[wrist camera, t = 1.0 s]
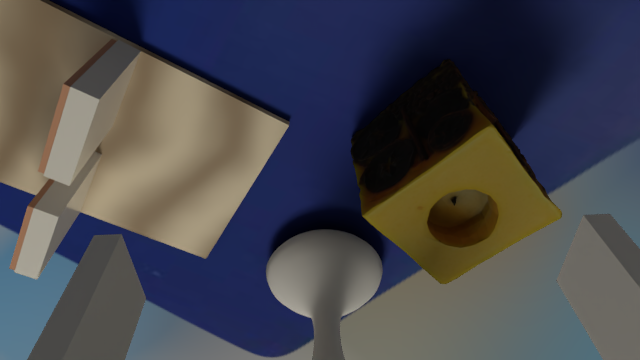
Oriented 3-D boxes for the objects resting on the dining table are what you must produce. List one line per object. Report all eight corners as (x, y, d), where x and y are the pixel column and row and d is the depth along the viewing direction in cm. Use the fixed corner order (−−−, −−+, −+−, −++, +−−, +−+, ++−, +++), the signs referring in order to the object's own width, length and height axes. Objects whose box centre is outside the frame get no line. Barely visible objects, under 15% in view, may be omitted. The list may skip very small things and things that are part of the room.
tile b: (56, 203, 40) (8, 270, 34) (76, 143, 37) (27, 205, 30) (80, 211, 41) (36, 279, 34) (101, 154, 37) (58, 217, 31)
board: (-67, 151, 37) (-72, 155, 37) (-41, -45, 29) (-47, -44, 29) (207, 254, 45) (205, 258, 44) (289, 121, 37) (289, 125, 36)
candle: (447, 54, 34) (492, 117, 26) (515, 139, 38) (572, 215, 30) (345, 137, 38) (356, 214, 30) (417, 205, 42) (444, 288, 34)
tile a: (86, 114, 35) (36, 173, 29) (112, 36, 32) (63, 83, 25) (112, 126, 36) (69, 186, 29) (140, 50, 32) (99, 99, 26)
